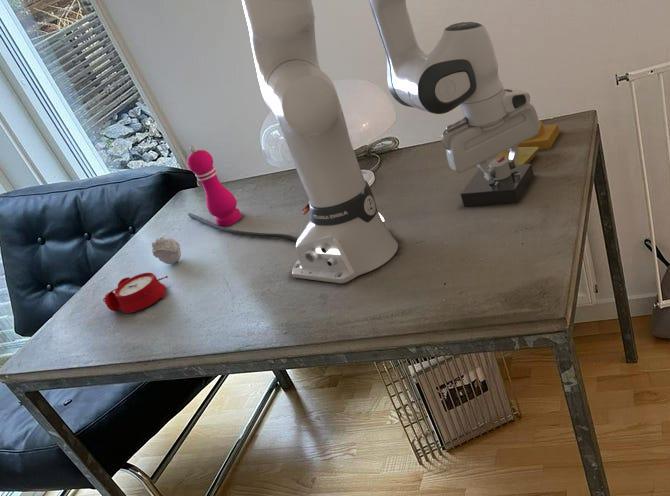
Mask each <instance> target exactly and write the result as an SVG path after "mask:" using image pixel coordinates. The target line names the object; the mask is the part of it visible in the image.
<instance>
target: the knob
mask: <svg viewBox="0 0 670 496" xmlns="http://www.w3.org/2000/svg"><path fill="white" fill-rule="evenodd" d="M494 159H495V158H494ZM494 159H493V160H491V161H490V162H489V164H488V165H489V167H488V168H490V169H491V170H494V175H495V178H494V180H502V179H505V178H507V177H509V176H510V175H511V169H510V165H509V161H508V159H507V158H504V156H502V157H501V158H498V159H495V160H494Z"/></svg>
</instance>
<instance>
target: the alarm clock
mask: <svg viewBox="0 0 670 496" xmlns="http://www.w3.org/2000/svg"><path fill="white" fill-rule="evenodd" d="M164 279H168V275H166V276H163V277H161V278H157V276H156V275H155V274H154V273H153V272H143V273H139V274H137V275H134V276H132V277H130V276H129V277H123V278H121V279H120V280H119V281H118V283H117V287H116V288H115V289H113V290H110V291H109V292H107V293H106V294H105V295H104V297H103V299H102V302H104V303H105V305H106V307H107V308H108V310H109V311H112V312H117V311H119V310H120V311H121V312H123V313H126V314H128V313H129V314H130V313H135V312H138V311H142V310H144V309H146V308H148V307H149V306H152V305H153V304H155V303H156V302H157V301H159V300H160V299H161V298H162V299H164V298H165V297H166V295H165V294H166V291H167V287H166V286H165V284H163V283H162V282H160V281H162V280H164Z"/></svg>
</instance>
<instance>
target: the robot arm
mask: <svg viewBox="0 0 670 496" xmlns="http://www.w3.org/2000/svg"><path fill="white" fill-rule="evenodd" d="M240 1H241V4H242V7H243V8H242V9H243V11H244V16H245V20H246V24H247V28H248V32H249V38H250V45H251V50H252V54H253V59H254V65H255V69H256V74H257V79H258V83H259V88H260V93H261V96H262V99H263V101H264V103H265V104H266V106H267V107H268V108H269V110H270V111H271V112H272V114H273V115H274V117H275V119H276V120H277V122H278V124H279V127H280V129H281V132H282V134H283V137H284V140H285V142H286V145H287V147H288V150H289V153H290V156H291V159H292V161H293V165H294V167H295V170H296V172H297V175H298V177H299V179H300V181H301V184H302V186H303V188H304V191H305V193H306V195H307V197H308V202H307V203H306V205H305V206H304V207H303V208H302V209H301V212H303V216H305V215H307V213H309V221H308V223H307V224H306V226H305V227H304V229H303V230H302V231H301V233H300V235H299V236H298V238H297V237H295V236H293V235H290V234H285V233H267V232H266V233H264V232H254V231H253V232H252V231H245V230H237V229H232V228H228V227H221V226H218V224H217V223H213V222H210V221H208V220H206V219H204V218H203V217H200V216H198V215H196V214H194V213H192V212H188V213H187V216H188V217H191V218H193V219H195V220H197V221H199V222H201V223H203V224H205V225H207V226H210V227H212V228H214V229H217V230H220V231H223V232H228V233H232V234H236V235H243V236H250V237H251V236H252V237H264V238H284V239H289V240H291V241H293V242H295V252H296V257H297V258H298V259H297V260H296V261H295V262H294V264H293V266H292V269H291V275H292V277H293V278H295V279H302V280H311V281H319V282H327V283H335V284H346V283H348V282H350V281H351V280H354V279H355V278H357V277H359V276H362V275H364V274H366V273H370V272H372V271H374V270H376V269H378V268H380V267H381V266H383V265H384V264H386V263H388V262H389V261H390V260H391V259H392V258H393V257H394V256H395V254H396V253H397V252H398V248H399V243H398V241H397V240H396V239H395V238H394V236H393V235H392V233H391V231H390V230H389V229H388V227H387V226H386V224H385V219H384V216H383V215H381V213H380V212H379V211H378V208H377V203H376V200H375V197H374V194H373V192H372V189H371V187H370V184H369V182H368V181H367V180H366V179H365V177H364V175H363V172H362V169H361V167H360V163H359V161H358V158H357V156H356V153H355V151H354V150H355V149H354V147H353V144H352V142H351V138H350V134H349V130H348V126H347V121H346V118H345V115H344V111H343V108H342V104H341V100H340V98H339V95H338V92H337V90H336V89H337V88H336V86H335V84H334V82H333V81H332V79H331V78H330V76H329V75H328V74H326V73H325V72H324V71H322V69H321V67H320V63H319V57H318V50H317V42H316V28H315V21H316V20H315V19H316V16H315V12H314V6H313V1H312V0H240ZM368 3H369V7H370V9H371V13H372V16H373V19H374V23H375V25H376V28H377V32H378V35H379V38H380V41H381V44H382V48H383V51H384V53H385V57H386V77H387V78H386V79H387V86H388V90H389V92H390V94H391V96H392V98H394V100H395V101H396V102H397V103H399V104H400V105H402V106H404V107H408V108H409V107H410V108H415V109H418V110H421V111H424V112H428V113H430V114H434V115H444V114H447V113H450V112H451V111H453V110H454V109H456V108H457V107H459V106H460V109H461V113H462V116H463V118H461V119H459V120H458V121H456V122H455V123H451V124H449V125H447V126H445V130H444V131H443V132H442V134H441V141H442V144H443V148H445V152H446V153H445V154H446V159H447V163H448V167H449V168H450V169H451V170H452V171H454V172H456V173H458V174H462V173H464V172H467V171H468V170H470V169H472V168H475V167H477V168H478V169H481V170H482V171H483V172H484V175H485V178H486V180H488V181H490V180H492V179H494V178H495V175H494V170H491V169H487V168H488V167H486V166H488V163H487V161H488V160H490V159H492V158H494V157H497V156H498V155H499V154H500V153H502V152H504V151H506V150H510V153H509V159H508V161H509V165H510V169H513V168H515V167H517V163H516V158H517V154H518V150H519V149H518V144H520V143H522V142H524V141H526V140H528V139H530V138H532V137H534V136H536V135H538V133H539V130H540V124H539V121H540V120H539V117H538V113H537V109H536V108H535V106H534V105H533V104H532V103H530V102H531V95H530V93H529V92H527V91H525V90H522V89H518V88H514V87H508V88H504V85H503V82H502V81H501V79H500V77H499V76H500V75H499V64H498V59H497V56H496V55H497V54H496V52H495V49H494V45H493V43H492V39H491V37H490V35H489V32H488V30H487V28H486V27H485V26H484V25H483V24H481V23H479V22H476V21H475V22H474V21H466V22H465V21H464V22H463V21H462V22H457V23H453V24H449V26H447V27H445V28H444V29H443V33H442V35H441V37H440V39H439V41H438V42H437V43H436V45H435V47H434V48H433V49H432V50H431V51H430V52H429V53H428V54H427V53H426V52H424V50H423V49H422V48H421V47H420V46H419V44H418V41H417V38H416V34H415V32H414V27H413V25H412V21H411V18H410V15H409V11H408V6H407V0H368Z"/></svg>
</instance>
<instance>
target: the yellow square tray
mask: <svg viewBox="0 0 670 496" xmlns="http://www.w3.org/2000/svg"><path fill="white" fill-rule="evenodd" d="M518 149H519V150H518V154H517V158H516V163H517V165H523V164H530V163H531V162H532V160H534V158H536V156H537V153H538V151H539V150H538V149H539V147H518ZM509 153H510V150H506V151H504V152H502V153H500V154H498V155H496V156H495V158H494V159H493V160H495V159H498V158H501V157H502V156H504V158H507V159H509ZM487 168H490V167H489V164H487Z"/></svg>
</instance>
